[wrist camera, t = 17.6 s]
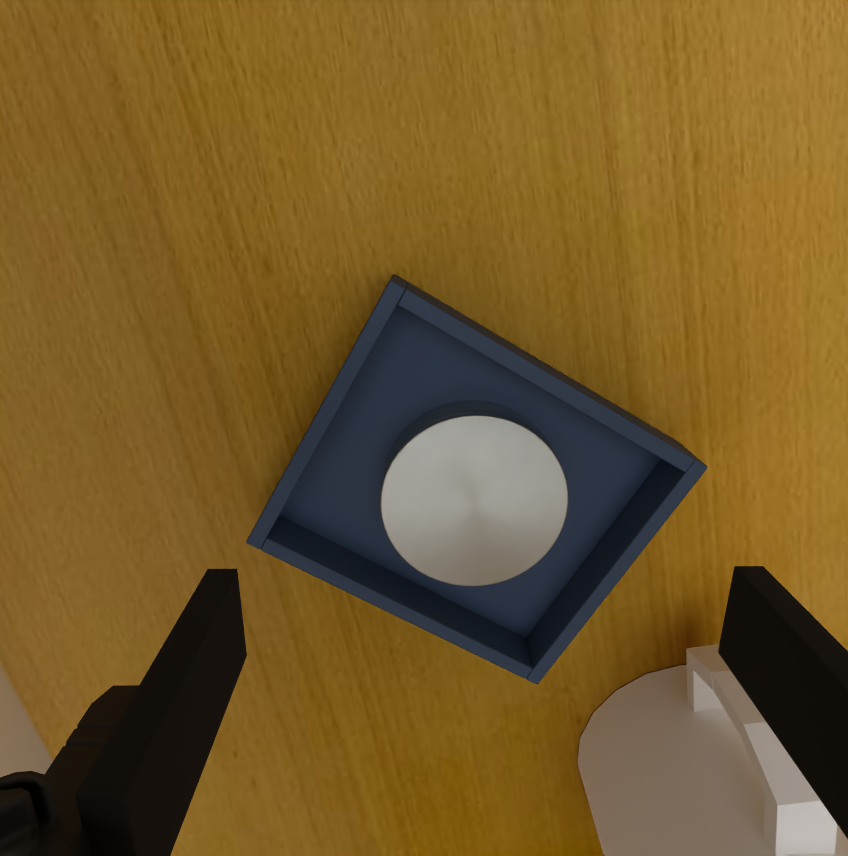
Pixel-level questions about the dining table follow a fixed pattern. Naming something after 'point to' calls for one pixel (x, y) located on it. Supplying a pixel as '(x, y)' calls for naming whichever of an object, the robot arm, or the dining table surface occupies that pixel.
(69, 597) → the dining table surface
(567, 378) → the tray
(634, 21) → the dining table surface
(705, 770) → the mug
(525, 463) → the lid
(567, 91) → the dining table surface
